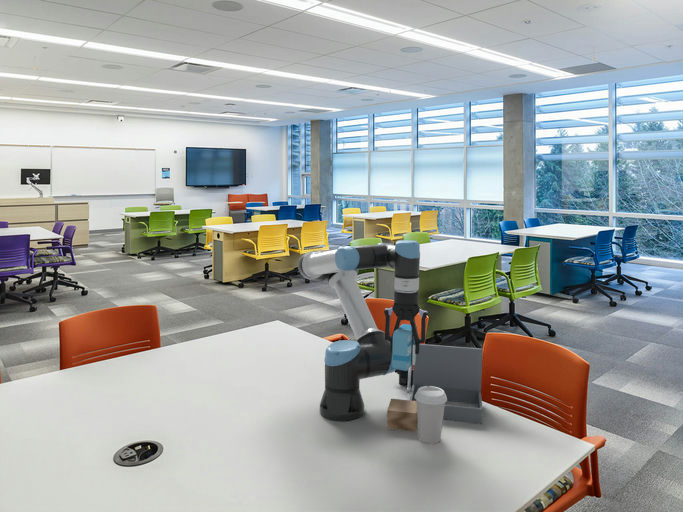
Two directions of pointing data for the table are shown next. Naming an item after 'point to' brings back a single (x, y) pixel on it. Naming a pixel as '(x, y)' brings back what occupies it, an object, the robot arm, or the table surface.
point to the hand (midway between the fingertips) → (404, 362)
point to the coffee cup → (430, 413)
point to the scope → (404, 377)
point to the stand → (402, 415)
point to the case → (451, 378)
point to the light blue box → (402, 347)
